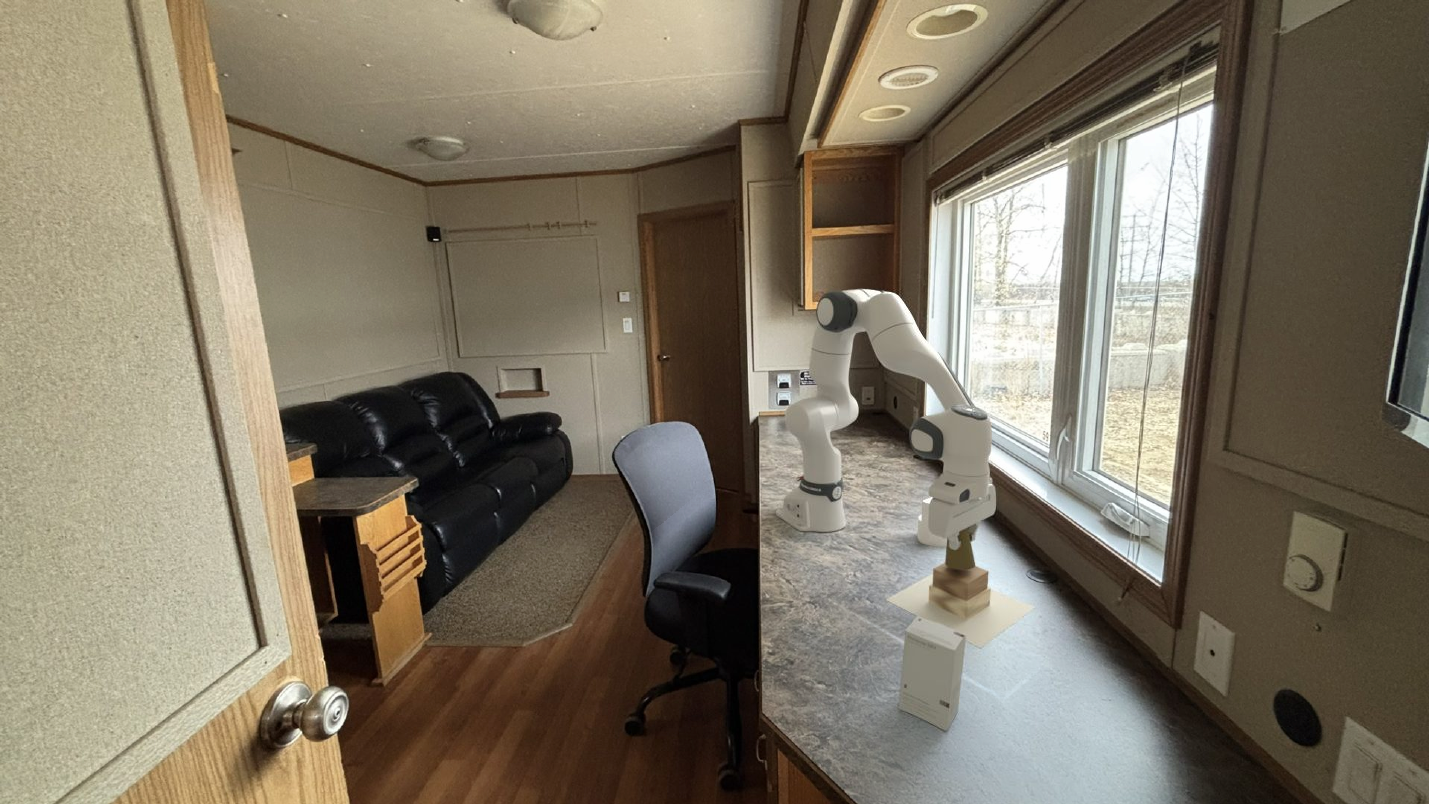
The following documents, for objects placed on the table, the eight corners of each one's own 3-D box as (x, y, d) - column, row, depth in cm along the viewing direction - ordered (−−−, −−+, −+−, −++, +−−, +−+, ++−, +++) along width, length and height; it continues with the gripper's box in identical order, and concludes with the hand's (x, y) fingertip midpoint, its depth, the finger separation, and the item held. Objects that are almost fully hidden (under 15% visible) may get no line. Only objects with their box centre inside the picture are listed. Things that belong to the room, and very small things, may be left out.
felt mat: (885, 602, 124) (885, 599, 124) (941, 570, 137) (942, 568, 137) (980, 651, 107) (980, 648, 107) (1035, 610, 119) (1035, 607, 119)
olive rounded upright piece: (979, 569, 116) (976, 518, 115) (948, 570, 118) (945, 519, 117) (971, 558, 122) (968, 509, 121) (942, 559, 124) (939, 511, 122)
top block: (932, 585, 122) (933, 568, 121) (953, 573, 126) (953, 557, 126) (967, 601, 115) (968, 583, 115) (987, 588, 120) (988, 571, 119)
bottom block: (928, 601, 123) (929, 585, 122) (951, 588, 128) (952, 572, 127) (967, 620, 116) (968, 603, 115) (989, 605, 121) (990, 588, 120)
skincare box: (898, 710, 93) (900, 630, 90) (911, 689, 97) (914, 613, 94) (950, 734, 88) (954, 650, 85) (962, 711, 92) (966, 631, 89)
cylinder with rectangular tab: (930, 529, 160) (932, 490, 157) (959, 540, 152) (961, 499, 150) (910, 538, 155) (912, 497, 152) (939, 550, 147) (941, 507, 145)
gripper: (977, 468, 125) (974, 526, 127) (923, 490, 113) (921, 553, 116) (1005, 475, 120) (1001, 535, 122) (952, 499, 108) (949, 564, 111)
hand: (962, 544), depth 119 cm, fingers closed on olive rounded upright piece, 4 cm apart
